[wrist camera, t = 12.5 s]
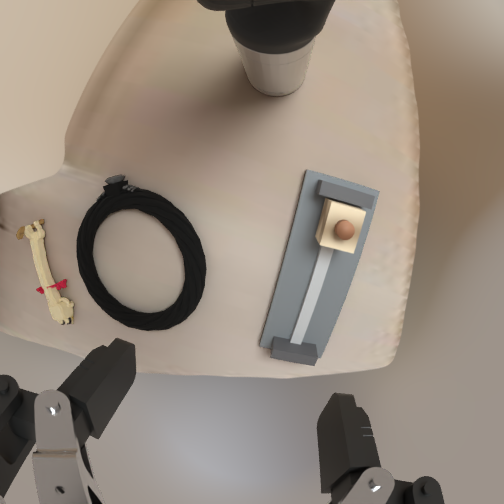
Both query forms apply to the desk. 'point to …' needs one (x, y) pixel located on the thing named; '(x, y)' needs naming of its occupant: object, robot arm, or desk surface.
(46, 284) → the cat figure
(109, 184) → the cable lock
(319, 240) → the keeper
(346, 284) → the rail board
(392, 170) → the desk surface
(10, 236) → the desk surface
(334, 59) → the desk surface
